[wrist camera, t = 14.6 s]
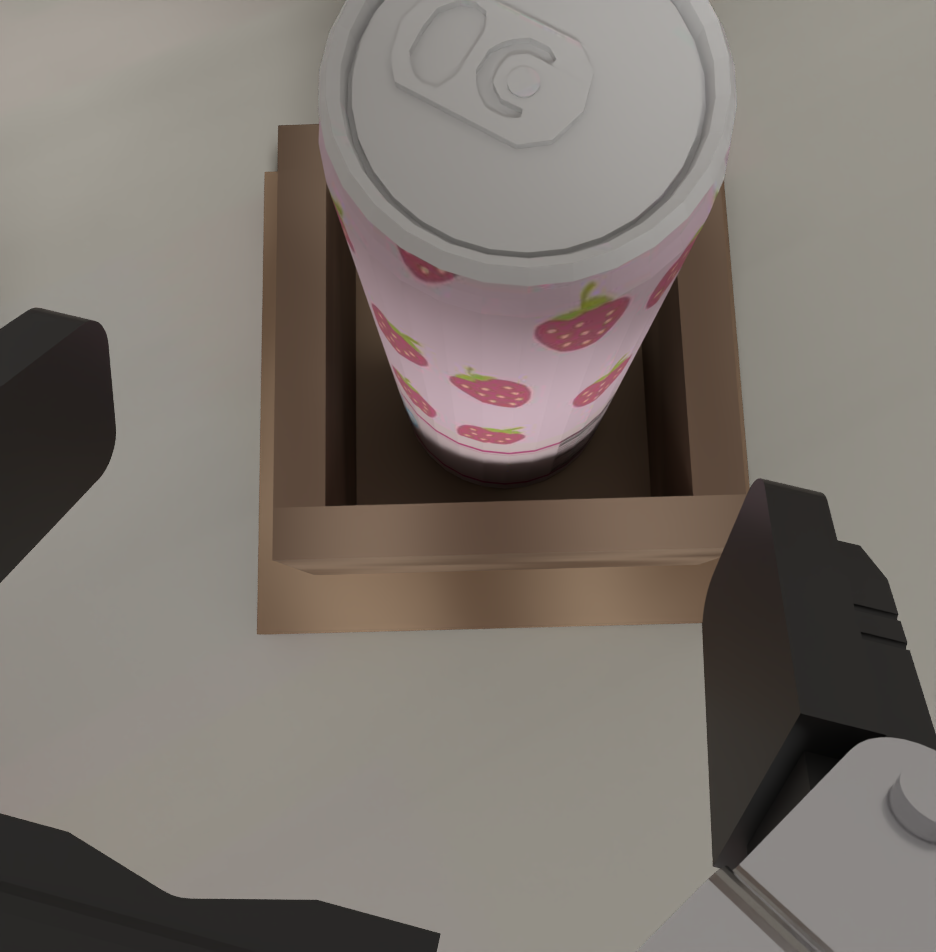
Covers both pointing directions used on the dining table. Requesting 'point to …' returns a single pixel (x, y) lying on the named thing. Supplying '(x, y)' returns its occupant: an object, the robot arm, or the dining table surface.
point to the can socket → (467, 504)
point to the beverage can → (520, 203)
